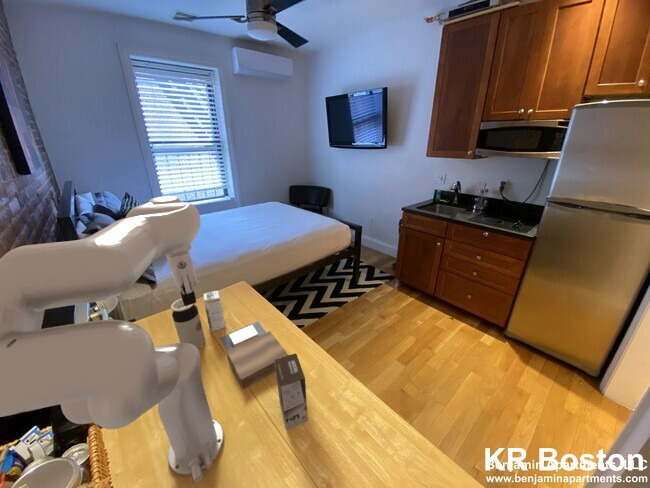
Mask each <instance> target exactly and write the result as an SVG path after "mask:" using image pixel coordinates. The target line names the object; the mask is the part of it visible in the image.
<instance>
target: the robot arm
mask: <svg viewBox="0 0 650 488" xmlns="http://www.w3.org/2000/svg"><path fill="white" fill-rule="evenodd" d="M200 228H201V216H200V212H199V210H198V209H197V207H196V206H195V205H194V204H192V203H190V202H182V200H181V199H180V198H179V197H177V196H175V195H174V196H172V195H166V196H165V195H163V196H157V197H153V198H151V199H149V200H148V201H147V203H144V204H141V205H138V206H135V207H133V208H131V209H130V210H128V213H126V216H125V218H121V219H118V220H116V221H114V222H112V223H111V224H109V225H108V226H106V227H104V228H102V229H100V230H98V231H97V232H95V233H93V234H91V235H89V236H88V237H85V238H81V239H77V240H75V239H74V240H68V241H58V242H57V241H56V242H48V243H46V242H45V243H37V244H28V245H22V246H21V245H20V246H19V247H15V248H13V249H11V250H9V251H8V252H6V253H4V255H3V256H2V257H1V258H0V418H1V417H2V418H3V417H7V416H12V415H16V414H21V413H26V412H31V411H35V410H40V409H43V408H49V407H54V406H58V405H59V406H60V407H61V412H62V414H63V415H64V416H65V418H66V419H67V420H68V421H69V422H72V423H73V424H77V425H86V424H93V423H95V424H96V425H97V426H99V427H101V428H103V429H106V430H111V431H112V430H113V431H114V430H118V429H122V428H123V427H127V426H129V425H130V424H132V423H133V422H135V421H136V420H137V419H139V418H140V417H141V416H142V415H143V414H145V413H147V412H148V411H149V410H150V409H152V408H154V407H155V406H156V405H157V412H158V416H159V419H160V421H161V423H162V426H163V428H164V430H165V433H166V436H167V438H168V441H169V443H170V445H169V450H168V453H167V454H168V455H167V460H168V465H169V467H170V468H171V470H172V471H173V472H174V473H175V474H178V475H180V476H192V480H193V483H195V484H196V483H199V482H200V481H202V479H203V478H204V473H203V470H205V469H206V470H208V469H210V468H211V467H212V466H213V462H214V460H215V459H216V458H217V456H218V455H219V453H220V452H221V450H222V448H223V444H224V436H225V435H224V429H223V427H222V425H221V423H220V422H218V420H215V419H213V416H212V412H211V409H210V405H209V401H208V397H207V394H206V391H205V386H204V381H203V376H202V365H201V364H202V362H201V354H200V351H199V349H197V347H196V346H194V345H193V344H190V343H180V342H178V343H177V342H176V343H175V342H174V343H170V344H165V345H158V346H155V345H154V343H153V339H152V337H151V335H150V334H149V332H148V331H147V330H146V329H145V328H144V327H143V326H141V325H139V324H138V323H135V322H131V321H127V320H122V319H101V320H100V319H99V320H98V319H97V320H92V321H91V320H90V321H86V322H85V321H84V322H79V323H72V324H71V323H70V324H65V325H59V326H53V327H52V326H51V327H46V328H42V325H43V322H44V321H43V320H44V316H45V310H48V309H56V308H61V307H63V308H64V307H67V306H77V305H82V304H84V305H85V304H88V303H95V302H102V301H106V300H107V301H108V300H111V299H114V298H116V297H118V296H121V295H122V294H124V293H125V292H126V293H127V291H129V290H130V289H131V288H132V287H133V286H134V284H135V283H136V282H137V281H138V280H139V279H140V278H141V276H142V275H143V274H144V273H145V271H146V270H147V268H149V266H150V265H151V263H153V261H155V260H157V259H160V258H162V257H166V260H167V264H168V267H169V270H170V273H171V274H172V275H171V276H172V278H173V280H174V283H175V284H176V287H177V289H179V290H180V296H181V299H182V300H183V304H184V306H188V305H191V304H194V305H195V304H196V303H197V298H196V294H195V291H194V289H193V286H198V284H199V281H198V279H197V275H196V272H195V270H196V269H195V267H194V264H193V260H192V257H191V254H190V251H191V249H192V248H193V247H192V243H193V242H194V241H195V240H196V237H198V234H199V232H200Z"/></svg>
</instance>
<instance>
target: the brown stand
mask: <svg viewBox="0 0 650 488" xmlns="http://www.w3.org/2000/svg"><path fill="white" fill-rule="evenodd" d="M226 354H227V358H228V359H227V360H228V362H229V364H230V366H231V368H232V370H233V372H234V374H235V376H236V377H237V379H238V380H237V381H238V382H239V384H240V387H241V388H242V389H243V390H244V389H246V388H247V387H250V386H252V384H255V383H257V382H258V381H260V380H262V379H264V378H266V377H268V376H270V375H271V374H273V373H276V369H275V361H274V360H276V359H280V358H282V357H284V356H288V355H289V354H288V352H287V351H286V350H285V349H284V347H283V346H282V344H281V343H280V342H279V341H278V339H277V338H276V337H275V336H274V334H273V333H272V331H270V330H269V331H267V332H266V333H265V334H263V335H260V336H258V337H256V338H254V339H252V340H249V341H247V342H245V343H243V344H240V345H238V346H236V347H234V348H232V349H229V350H227V349H226Z"/></svg>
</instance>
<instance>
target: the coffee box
mask: <svg viewBox="0 0 650 488" xmlns="http://www.w3.org/2000/svg"><path fill="white" fill-rule="evenodd" d="M274 361H275V369H276V371H275V375H276V382H277V389H278V390H277V392H278V400H279V405H280V410H281V415H282V419H283V424H284V427H285V430H289V429H291V428H294V427H297V426H300V425H302V424H304V423H307V422H308V418H309V417H308V404H307V403H308V402H307V391H306V386H307V385H306V376H305V374H304V371H303V369H302V366H301V363H300V360H299V357H298V355H297V353H293V354H292V353H291V354H288V356H284V357H282V358H280V359H276V360H274Z"/></svg>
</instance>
